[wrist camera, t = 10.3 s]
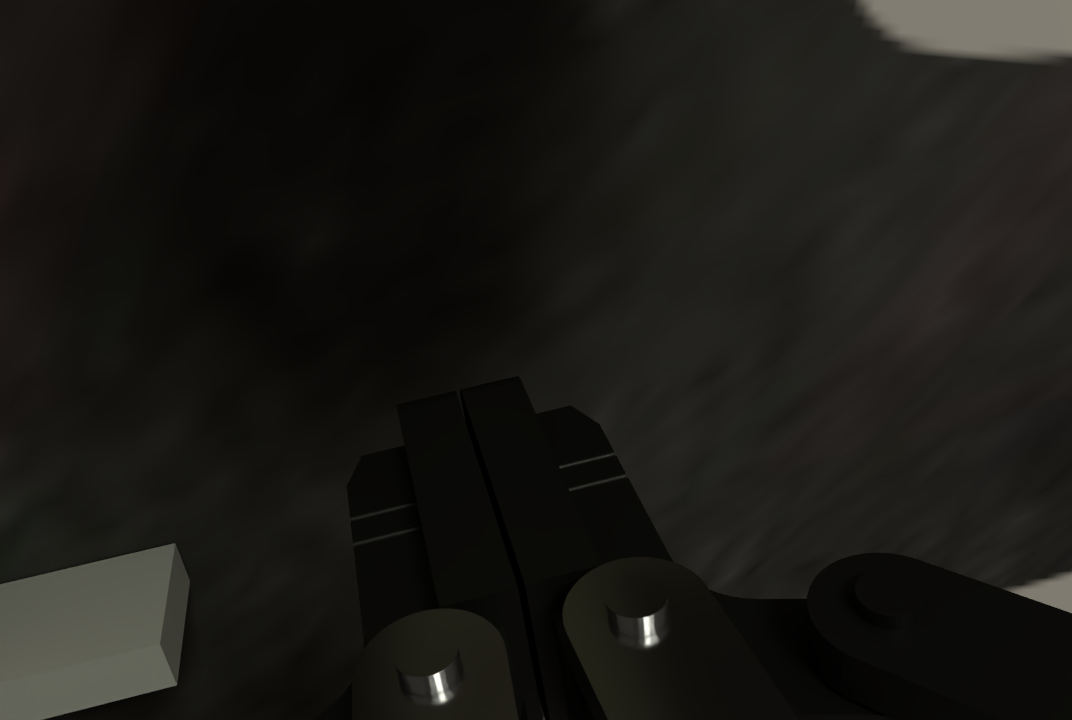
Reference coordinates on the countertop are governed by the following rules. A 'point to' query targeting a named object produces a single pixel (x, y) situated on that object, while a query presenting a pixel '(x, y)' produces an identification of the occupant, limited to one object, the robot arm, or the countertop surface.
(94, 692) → the tray
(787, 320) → the countertop surface
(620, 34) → the countertop surface
